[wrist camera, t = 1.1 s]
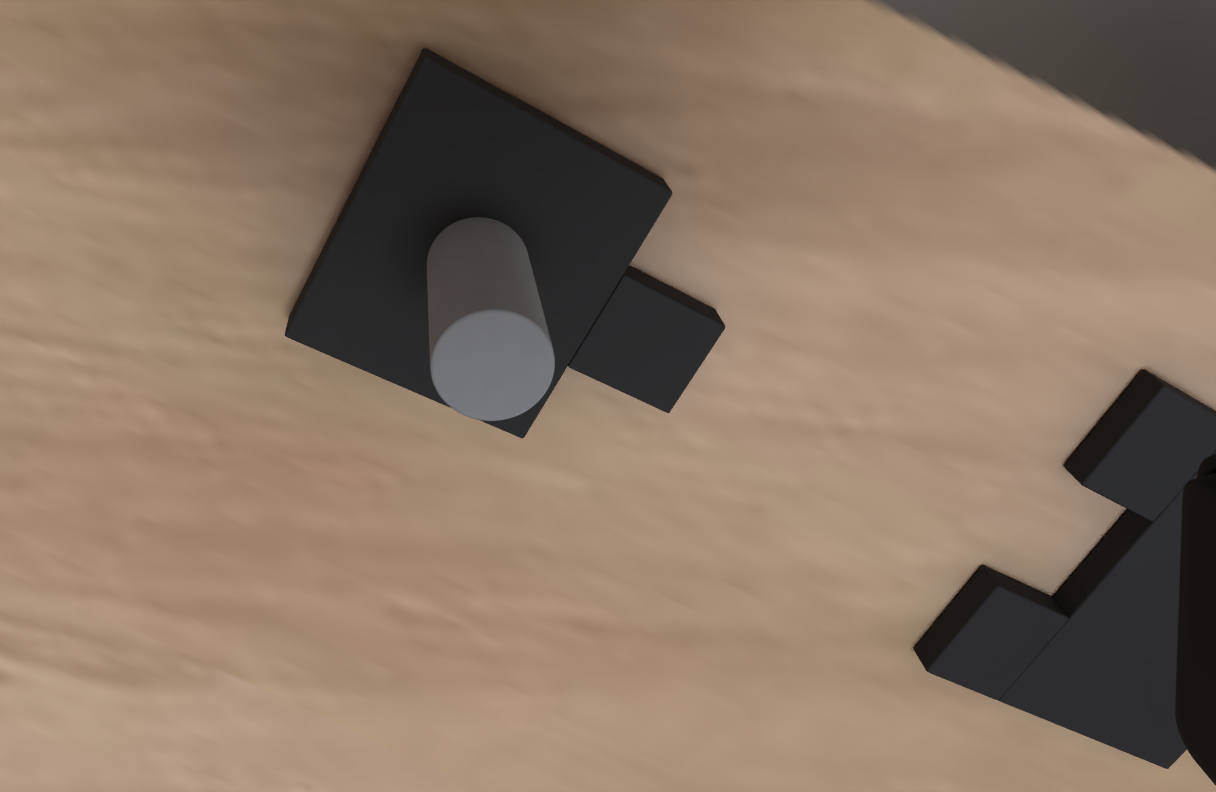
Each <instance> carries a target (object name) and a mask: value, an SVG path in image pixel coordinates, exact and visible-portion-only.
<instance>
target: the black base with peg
mask: <svg viewBox="0 0 1216 792" xmlns="http://www.w3.org/2000/svg"><path fill="white" fill-rule="evenodd" d="M671 195H672V191H671V189H670V188H669V187H668V185H667V184H666V182H665V181H664V179H663V178H661V177H659V176H657V175H655V174H654V173H652V172H650V171H648V170H646V169H644V168H643V167H641V166H639V165H637V164H635V163H634V162H632V161H630V160H628V159H626V158H625V157H623V156H621V155H619V154H617V153H615V152H614V151H612V150H610V149H608V148H606V147H605V146H603V145H601V144H599V143H597V142H595V141H594V140H592V139H590V138H588V137H586V136H585V135H583V134H581V133H579V132H577V131H575V130H574V129H572V128H570V127H568V126H566V125H565V124H563V123H561V122H559V121H557V120H556V119H554V118H552V117H550V116H548V115H546V114H545V113H543V112H541V111H539V110H537V109H536V108H534V107H532V106H530V105H528V104H526V103H525V102H523V101H521V100H519V99H517V98H516V97H514V96H512V95H510V94H508V93H506V92H505V91H503V90H501V89H499V88H497V87H496V86H494V85H492V84H490V83H488V82H487V81H485V80H483V79H481V78H479V77H477V76H476V75H474V74H472V73H470V72H468V71H467V70H465V69H463V68H461V67H459V66H457V65H456V64H454V63H452V62H450V61H448V60H447V59H445V58H443V57H441V56H439V55H437V54H436V53H434V52H432V51H430V50H428V49H426V48H424V49H423V50H422V52H421V54H420V56H419V58H418V60H417V62H416V64H415V66H414V68H413V70H412V72H411V74H410V76H409V78H408V80H407V82H406V84H405V86H404V88H403V90H402V92H401V94H400V96H399V98H398V100H397V102H396V104H395V106H394V108H393V110H392V112H391V114H390V116H389V118H388V120H387V122H386V124H385V126H384V128H383V130H382V132H381V134H380V136H379V138H378V140H377V142H376V144H375V146H374V148H373V150H372V152H371V154H370V156H369V158H368V160H367V162H366V164H365V166H364V168H363V170H362V172H361V174H360V176H359V178H358V180H357V182H356V184H355V186H354V188H353V190H352V192H351V194H350V196H349V198H348V200H347V202H346V204H345V206H344V208H343V210H342V212H341V214H340V216H339V218H338V220H337V222H336V224H335V226H334V228H333V230H332V232H331V234H330V236H329V238H328V240H327V242H326V244H325V246H324V248H323V250H322V252H321V254H320V256H319V258H318V260H317V262H316V264H315V266H314V268H313V270H312V272H311V274H310V276H309V278H308V280H307V282H306V284H305V286H304V288H303V290H302V292H301V294H300V296H299V298H298V300H297V302H296V304H295V306H294V308H293V310H292V312H291V314H290V316H289V319H288V323H287V327H286V331H285V336H286V337H288V338H290V339H292V340H295V341H297V342H299V343H302V344H304V345H306V346H309V347H311V348H313V349H316V350H318V351H320V352H323V353H325V354H327V355H330V356H332V357H334V358H337V359H339V360H341V361H343V362H346V363H348V364H350V365H353V366H355V367H357V368H360V369H362V370H364V371H367V372H369V373H371V374H374V375H376V376H378V377H381V378H383V379H385V380H388V381H390V382H392V383H395V384H397V385H399V386H402V387H404V388H406V389H409V390H411V391H413V392H416V393H418V394H420V395H422V396H425V397H427V398H429V399H432V400H434V401H436V402H439V403H441V404H443V405H446V406H448V407H450V408H453V409H454V410H456V411H457V412H459V413H461V414H463V415H465V416H468V417H470V418H474V419H478V420H481V421H483V422H485V423H488V424H490V425H492V426H495V427H497V428H499V429H501V430H504V431H506V432H508V433H511V434H513V435H515V436H518V437H520V438H524V437H525V435H526V433H527V432H528V430H529V428H530V427H531V425H532V424H533V422H534V420H535V419H536V417H537V415H538V414H539V412H540V410H541V409H542V407H543V406H544V404H545V402H546V401H547V399H548V397H549V396H550V394H551V392H552V391H553V389H554V387H555V386H556V384H557V383H558V381H559V379H560V378H561V376H562V374H563V373H564V371H565V369H566V368H567V366H569V367H570V368H572V369H574V370H576V371H578V372H580V373H583V374H585V375H587V376H589V377H591V378H593V379H596V380H598V381H600V382H602V383H604V384H606V385H608V386H611V387H613V388H615V389H617V390H619V391H621V392H624V393H626V394H628V395H630V396H632V397H634V398H637V399H639V400H641V401H643V402H645V403H647V404H649V405H652V406H654V407H656V408H658V409H660V410H662V411H665V412H667V413H669V412H670V411H671V409H672V408H673V406H674V405H675V403H676V402H677V400H678V399H679V397H680V396H681V394H682V393H683V391H684V390H685V388H686V387H687V385H688V384H689V382H690V381H691V379H692V378H693V376H694V374H695V373H696V371H697V370H698V368H699V367H700V365H701V364H702V362H703V361H704V359H705V358H706V356H707V355H708V353H709V352H710V350H711V349H712V347H713V346H714V344H715V343H716V341H717V340H718V338H719V336H720V335H721V333H722V332H723V330H724V329H725V325H724V323H723V321H722V320H721V318H720V317H719V315H718V313H717V312H716V310H715V309H713V308H711V307H709V306H707V305H705V304H703V303H701V302H699V301H697V300H695V299H693V298H691V297H689V296H688V295H686V294H684V293H682V292H680V291H678V290H676V289H674V288H672V287H670V286H668V285H666V284H664V283H662V282H660V281H658V280H656V279H654V278H652V277H650V276H648V275H646V274H645V273H643V272H641V271H639V270H637V269H635V268H633V267H631V266H629V264H630V263H631V261H632V259H633V258H634V256H635V255H636V253H637V251H638V250H639V248H640V246H641V245H642V243H643V241H644V240H645V238H646V236H647V235H648V233H649V232H650V230H651V228H652V227H653V225H654V223H655V222H656V220H657V218H658V217H659V215H660V213H661V212H662V210H663V209H664V207H665V205H666V204H667V202H668V200H669V199H670V197H671Z"/></svg>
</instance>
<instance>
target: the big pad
mask: <svg viewBox="0 0 1216 792" xmlns="http://www.w3.org/2000/svg"><path fill="white" fill-rule="evenodd" d="M1214 454H1216V411H1214V410H1213V409H1211V408H1209V407H1208V406H1206V405H1204V404H1203V403H1201V402H1199V401H1197V400H1196V399H1194V398H1192V397H1191V396H1189V395H1187V394H1185V393H1184V392H1182V391H1180V390H1179V389H1177V388H1175V387H1173V386H1172V385H1170V384H1168V383H1167V382H1165V381H1163V380H1162V379H1160V378H1158V377H1156V376H1155V375H1153V374H1151V373H1150V372H1148V371H1146V370H1142V371H1141V372H1140V374H1139V375H1138V376H1137V377H1136V378H1135V380H1134V381H1133V382H1132V383H1131V385H1130V386H1129V387H1128V388H1127V389H1126V391H1125V392H1124V393H1123V394H1122V396H1121V397H1120V398H1119V399H1118V400H1117V402H1116V403H1115V404H1114V405H1113V407H1112V408H1111V409H1110V410H1109V411H1108V413H1107V414H1106V415H1105V416H1104V418H1103V419H1102V420H1101V421H1100V422H1099V424H1098V425H1097V426H1096V427H1095V429H1094V430H1093V431H1092V432H1091V433H1090V435H1089V436H1088V437H1087V438H1086V440H1085V441H1084V442H1083V443H1082V444H1081V446H1080V447H1079V448H1078V449H1077V451H1076V452H1075V453H1074V454H1073V455H1072V457H1071V458H1070V459H1069V460H1068V462H1067V463H1066V464H1065V466H1064V467H1065V468H1066V469H1067V471H1068V472H1069V473H1070V474H1071V475H1072V476H1073V477H1074V478H1075V479H1076V480H1077V481H1078V482H1079V483H1080V484H1081V485H1082V486H1084V487H1086V488H1088V489H1090V490H1092V491H1094V492H1096V493H1098V494H1100V495H1102V496H1104V497H1106V498H1108V499H1110V500H1111V501H1113V502H1115V503H1117V504H1119V505H1121V506H1123V507H1125V508H1127V509H1129V510H1128V511H1127V512H1126V513H1125V514H1124V515H1123V517H1122V518H1121V519H1120V520H1119V521H1118V522H1117V524H1116V525H1115V526H1114V527H1113V528H1112V529H1111V531H1110V532H1109V533H1108V534H1107V535H1106V536H1105V538H1104V539H1103V540H1102V541H1101V542H1100V543H1099V545H1098V546H1097V547H1096V548H1095V549H1094V550H1093V552H1092V553H1091V554H1090V555H1089V556H1088V557H1087V559H1086V560H1085V561H1084V562H1083V563H1082V564H1081V566H1080V567H1079V568H1078V569H1077V570H1076V571H1075V573H1074V574H1073V575H1072V576H1071V577H1070V578H1069V580H1068V581H1067V582H1066V583H1065V584H1064V585H1063V587H1062V588H1061V589H1060V590H1059V591H1058V592H1057V594H1056V595H1055V596H1054V597H1053V598H1052V597H1050V596H1048V595H1046V594H1044V593H1041V592H1039V591H1037V590H1035V589H1033V588H1031V587H1028V586H1026V585H1024V584H1022V583H1020V582H1018V581H1015V580H1013V579H1011V578H1009V577H1007V576H1005V575H1002V574H1000V573H998V572H996V571H994V570H992V569H989V568H987V567H985V566H981V567H980V569H979V570H978V571H977V572H976V574H975V575H974V576H973V577H972V578H971V580H970V581H969V582H968V583H967V585H966V586H965V587H964V588H963V589H962V591H961V592H960V593H959V594H958V596H957V597H956V598H955V599H954V600H953V602H952V603H951V604H950V605H949V607H948V608H947V609H946V610H945V611H944V613H943V614H942V615H941V616H940V618H939V619H938V620H937V621H936V622H935V624H934V625H933V626H932V627H931V629H930V630H929V631H928V632H927V633H926V635H925V636H924V637H923V638H922V640H921V641H920V642H919V643H918V644H917V646H916V647H915V648H914V651H915V652H916V654H917V656H918V657H919V659H920V661H921V662H922V664H923V666H924V667H925V669H926V671H927V672H929V673H931V674H934V675H936V676H939V677H941V678H944V679H946V680H949V681H951V682H954V683H956V684H958V685H961V686H963V687H966V688H968V689H971V690H973V691H976V692H978V693H981V694H983V695H986V696H988V697H991V698H993V699H995V700H999V701H1001V702H1003V703H1006V704H1008V705H1011V706H1013V707H1015V708H1018V709H1020V710H1023V711H1025V712H1028V713H1030V714H1033V715H1035V716H1038V717H1040V718H1043V719H1045V720H1048V721H1050V722H1052V723H1055V724H1057V725H1060V726H1062V727H1065V728H1067V729H1070V730H1072V731H1075V732H1077V733H1080V734H1082V735H1085V736H1087V737H1089V738H1092V739H1094V740H1097V741H1099V742H1102V743H1104V744H1107V745H1109V746H1112V747H1114V748H1117V749H1119V750H1122V751H1124V752H1126V753H1129V754H1131V755H1134V756H1136V757H1139V758H1141V759H1144V760H1146V761H1149V762H1151V763H1154V764H1156V765H1158V766H1161V767H1163V768H1166V769H1168V768H1169V767H1170V766H1171V765H1172V764H1173V763H1174V762H1175V761H1176V760H1177V759H1178V758H1179V757H1180V756H1181V755H1182V754H1183V753H1184V752H1185V751H1186V750H1187V748H1186V746H1185V744H1184V743H1183V741H1182V738H1181V736H1180V733H1179V731H1178V727H1177V723H1176V717H1175V698H1176V669H1177V640H1178V611H1179V583H1180V554H1181V525H1182V496H1183V490H1184V487H1185V485H1186V484H1187V482H1188V481H1191V480H1193V479H1196V478H1197V475H1198V470H1199V466H1200V465H1201V463H1202V461H1203V460H1204V459H1205V458H1207V457H1209V456H1211V455H1214Z"/></svg>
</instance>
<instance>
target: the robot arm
mask: <svg viewBox="0 0 1216 792" xmlns="http://www.w3.org/2000/svg"><path fill="white" fill-rule="evenodd" d="M1175 717H1176V723H1177V727H1178V731H1179V733H1180V736H1181V738H1182V741H1183V743H1184V744H1185V746H1186V748H1187V750H1188V752H1189V753H1190V754H1191V756H1192V757H1193V759H1194V760H1195V761H1196V762H1197V764H1198V765H1199V766H1200V767H1201V768H1202V770H1203V771H1204V772H1205V773H1206V774H1207V776H1208V777H1209V778H1210V779H1211V780H1212V782H1213V783H1214V784H1215V785H1216V454H1214V455H1211V456H1209V457H1207V458H1205V459H1204V460H1203V461H1202V463H1201V465H1200V466H1199V470H1198V475H1197V478H1196V479H1193V480H1191V481H1188V482H1187V484H1186V485H1185V487H1184V490H1183V496H1182V525H1181V554H1180V583H1179V611H1178V640H1177V669H1176V698H1175Z"/></svg>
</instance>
